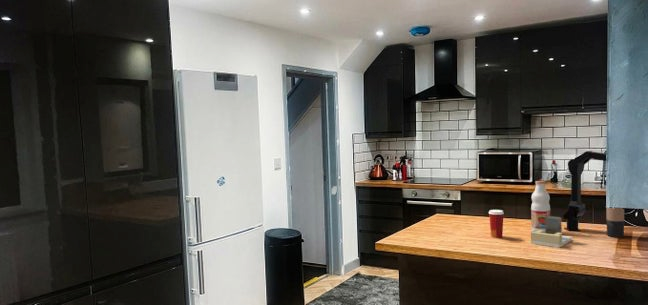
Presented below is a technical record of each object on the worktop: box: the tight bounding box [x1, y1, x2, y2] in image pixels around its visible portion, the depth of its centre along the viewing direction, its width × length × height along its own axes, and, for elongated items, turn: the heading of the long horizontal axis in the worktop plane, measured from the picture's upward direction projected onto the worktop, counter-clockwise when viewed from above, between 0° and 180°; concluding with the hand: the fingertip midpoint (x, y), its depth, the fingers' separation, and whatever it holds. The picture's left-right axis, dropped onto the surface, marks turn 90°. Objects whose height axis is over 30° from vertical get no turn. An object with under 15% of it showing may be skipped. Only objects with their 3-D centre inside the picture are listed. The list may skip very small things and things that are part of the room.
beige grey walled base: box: [530, 230, 573, 248], centre depth 220 cm, size 20×13×6 cm, turn 134°
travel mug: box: [606, 207, 625, 239], centre depth 225 cm, size 8×8×20 cm
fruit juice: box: [530, 180, 551, 233], centre depth 241 cm, size 9×9×28 cm
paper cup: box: [488, 209, 505, 239], centre depth 233 cm, size 8×8×14 cm
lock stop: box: [545, 215, 563, 234], centre depth 222 cm, size 5×6×10 cm
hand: (642, 210), depth 214 cm, fingers open, 9 cm apart
